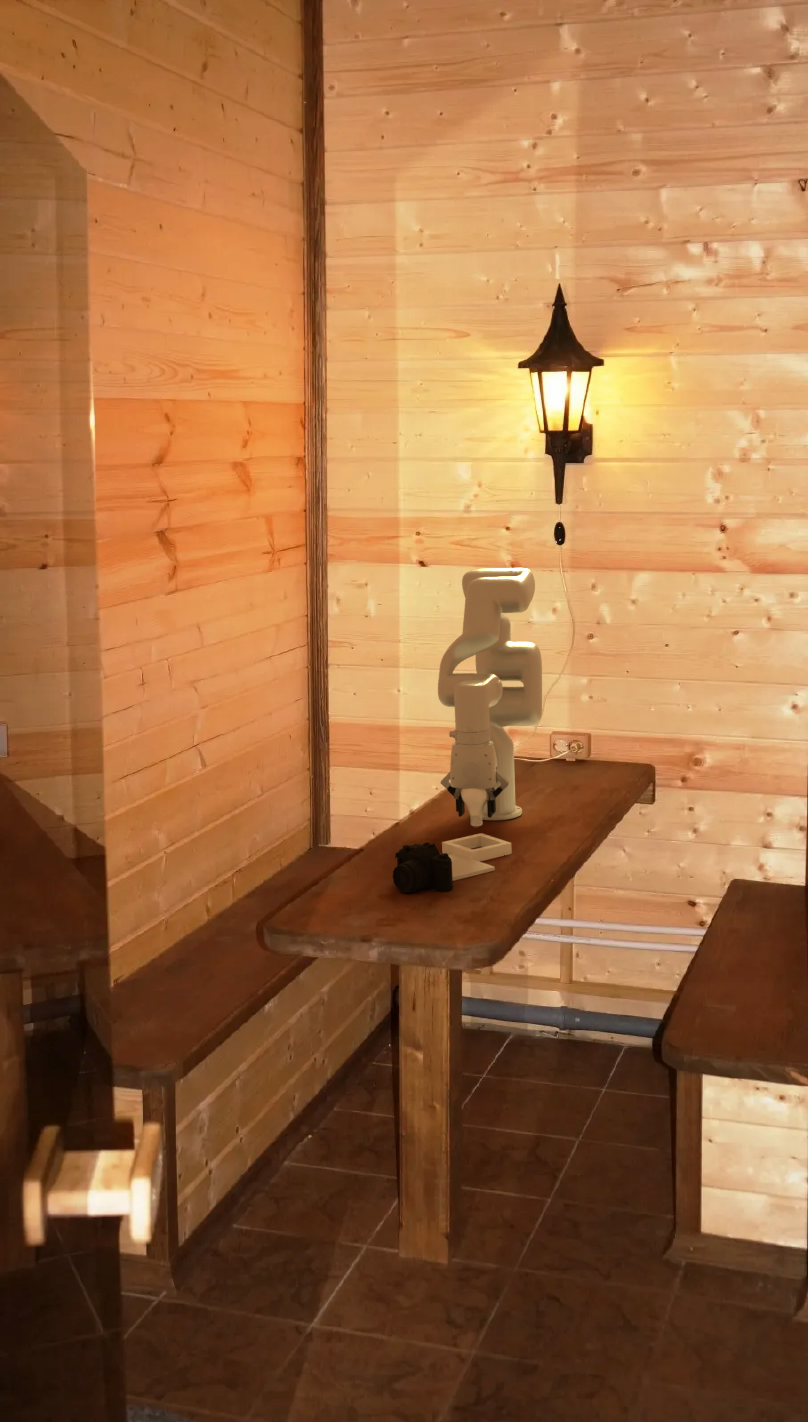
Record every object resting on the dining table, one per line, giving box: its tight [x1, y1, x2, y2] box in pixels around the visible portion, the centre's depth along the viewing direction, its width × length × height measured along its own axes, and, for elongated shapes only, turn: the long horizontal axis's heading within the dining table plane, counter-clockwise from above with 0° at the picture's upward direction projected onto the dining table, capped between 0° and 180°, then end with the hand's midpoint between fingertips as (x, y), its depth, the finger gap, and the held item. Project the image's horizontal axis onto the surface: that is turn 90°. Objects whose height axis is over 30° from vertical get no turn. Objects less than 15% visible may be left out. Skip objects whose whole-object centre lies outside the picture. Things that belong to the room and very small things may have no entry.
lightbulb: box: [461, 788, 489, 828], centre depth 325 cm, size 6×6×11 cm
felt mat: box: [449, 854, 496, 882], centre depth 315 cm, size 14×14×1 cm
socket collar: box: [441, 832, 513, 862], centre depth 326 cm, size 11×11×2 cm
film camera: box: [392, 842, 454, 893], centre depth 303 cm, size 15×10×9 cm, turn 43°
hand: (476, 814), depth 326 cm, fingers closed on lightbulb, 6 cm apart
